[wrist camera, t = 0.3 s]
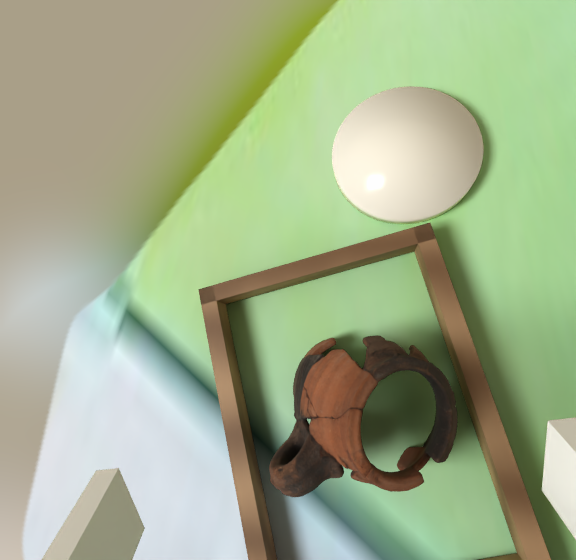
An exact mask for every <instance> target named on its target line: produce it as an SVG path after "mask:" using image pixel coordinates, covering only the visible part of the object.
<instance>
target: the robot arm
mask: <svg viewBox="0 0 576 560" xmlns="http://www.w3.org/2000/svg"><path fill="white" fill-rule="evenodd" d="M542 491H543V493H544V494H545V496H546V497H547V499H548V500H549V501H550V503H551V504H552V506H553V507H554V509H555V510H556V512H557V513H558V515H559V516H560V517H561V519H562V520H563V522H564V523H565V525H566V526H567V528H568V529H569V531H570V532H571V533H572V535H573V536H574V538H575V539H576V418H567V419H558V420H549V421H548V424H547V436H546V448H545V459H544V471H543V482H542ZM143 531H144V526H143V523H142V521H141V519H140V516H139V514H138V512H137V510H136V507H135V505H134V503H133V500H132V498H131V496H130V493H129V491H128V489H127V486H126V484H125V482H124V480H123V477H122V475H121V473H120V470H119V468H116V469H107V470H98V471H96V472H95V473H94V475H93V477H92V478H91V480H90V481H89V483H88V485H87V486H86V488H85V490H84V491H83V493H82V494H81V496H80V498H79V499H78V501H77V503H76V504H75V506H74V508H73V509H72V511H71V512H70V514H69V516H68V517H67V519H66V521H65V522H64V524H63V526H62V527H61V529H60V530H59V532H58V534H57V535H56V537H55V539H54V540H53V542H52V543H51V545H50V547H49V548H48V550H47V552H46V553H45V555H44V557H43V558H42V560H132V559H133V556H134V554H135V551H136V549H137V546H138V544H139V541H140V538H141V536H142V533H143Z"/></svg>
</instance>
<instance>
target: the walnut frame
mask: <svg viewBox="0 0 576 560" xmlns="http://www.w3.org/2000/svg"><path fill="white" fill-rule="evenodd" d="M410 252H415V254H416V257H417V260H418V263H419V266H420V269H421V272H422V275H423V278H424V281H425V284H426V287H427V290H428V293H429V296H430V299H431V301H432V304H433V307H434V310H435V313H436V316H437V319H438V322H439V325H440V328H441V331H442V334H443V337H444V340H445V343H446V346H447V349H448V351H449V354H450V357H451V360H452V363H453V366H454V369H455V372H456V375H457V378H458V381H459V384H460V387H461V390H462V393H463V396H464V398H465V401H466V404H467V407H468V410H469V413H470V416H471V419H472V422H473V425H474V428H475V431H476V434H477V437H478V440H479V443H480V446H481V448H482V451H483V454H484V457H485V460H486V463H487V466H488V469H489V472H490V475H491V478H492V481H493V484H494V487H495V490H496V493H497V496H498V498H499V501H500V504H501V507H502V510H503V513H504V516H505V519H506V522H507V525H508V528H509V531H510V534H511V537H512V540H513V543H514V545H515V548H516V551H517V553H515V554H509V555H503V556H497V557H491V558H485V559H479V560H551V558H550V556H549V553H548V550H547V547H546V545H545V542H544V539H543V536H542V533H541V531H540V528H539V525H538V522H537V519H536V517H535V514H534V511H533V508H532V505H531V503H530V500H529V497H528V494H527V491H526V489H525V486H524V483H523V480H522V478H521V475H520V472H519V469H518V466H517V464H516V461H515V458H514V455H513V452H512V450H511V447H510V444H509V441H508V438H507V436H506V433H505V430H504V427H503V425H502V422H501V419H500V416H499V413H498V411H497V408H496V405H495V402H494V399H493V397H492V394H491V391H490V388H489V385H488V383H487V380H486V377H485V374H484V371H483V369H482V366H481V363H480V360H479V358H478V355H477V352H476V349H475V346H474V344H473V341H472V338H471V335H470V332H469V330H468V327H467V324H466V321H465V318H464V316H463V313H462V310H461V307H460V304H459V302H458V299H457V296H456V293H455V291H454V288H453V285H452V282H451V279H450V277H449V274H448V271H447V268H446V265H445V263H444V260H443V257H442V254H441V251H440V249H439V246H438V243H437V240H436V237H435V235H434V232H433V229H432V226H431V224H430V223H427V224H424V225H420V226H417V227H413V228H410V229H406V230H403V231H399V232H396V233H393V234H389V235H386V236H382V237H379V238H375V239H372V240H368V241H365V242H361V243H358V244H354V245H351V246H348V247H344V248H341V249H337V250H334V251H330V252H327V253H323V254H320V255H316V256H313V257H309V258H306V259H303V260H299V261H296V262H292V263H289V264H285V265H282V266H278V267H275V268H271V269H268V270H264V271H261V272H258V273H254V274H251V275H247V276H244V277H240V278H237V279H233V280H230V281H226V282H223V283H219V284H216V285H213V286H209V287H206V288H202V289H199V295H200V300H201V305H202V311H203V316H204V322H205V327H206V332H207V338H208V343H209V349H210V354H211V359H212V365H213V370H214V376H215V381H216V386H217V392H218V397H219V403H220V408H221V413H222V419H223V424H224V430H225V435H226V440H227V446H228V451H229V457H230V462H231V467H232V473H233V478H234V484H235V489H236V494H237V500H238V505H239V511H240V516H241V521H242V527H243V532H244V538H245V543H246V548H247V554H248V559H249V560H277V556H276V551H275V546H274V541H273V536H272V531H271V526H270V521H269V516H268V511H267V506H266V502H265V497H264V492H263V487H262V482H261V477H260V472H259V467H258V462H257V457H256V452H255V447H254V442H253V437H252V432H251V427H250V422H249V417H248V412H247V407H246V402H245V397H244V392H243V387H242V382H241V378H240V373H239V368H238V363H237V358H236V353H235V348H234V343H233V338H232V333H231V328H230V323H229V318H228V313H227V308H226V304H228V303H232V302H236V301H239V300H243V299H246V298H250V297H253V296H257V295H260V294H264V293H268V292H271V291H275V290H278V289H282V288H285V287H289V286H293V285H296V284H300V283H303V282H307V281H310V280H314V279H318V278H321V277H325V276H328V275H332V274H335V273H339V272H343V271H346V270H350V269H353V268H357V267H360V266H364V265H367V264H371V263H375V262H378V261H382V260H385V259H389V258H392V257H396V256H400V255H403V254H407V253H410Z"/></svg>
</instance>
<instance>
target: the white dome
mask: <svg viewBox="0 0 576 560" xmlns="http://www.w3.org/2000/svg"><path fill="white" fill-rule="evenodd" d="M482 160H483V140H482V135H481V132H480V129H479V126H478V124H477V122H476V120H475V119H474V117H473V116H472V115H471V113H470V112H469V111H468V110H467V109H466V108H465V107H464V106H463V105H462V104H461V103H460V102H458V101H457V100H456V99H454V98H452V97H451V96H449V95H447V94H445V93H442V92H440V91H437V90H433V89H430V88H424V87H399V88H393V89H389V90H386V91H383V92H380V93H378V94H375V95H373V96H371V97H370V98H368V99H366V100H365V101H363V102H362V103H360V104H359V105H358V106H357V107H355V108H354V109H353V110H352V111H351V112H350V113H349V114H348V116H347V117H346V118H345V120H344V121H343V122H342V124H341V126H340V128H339V130H338V131H337V134H336V137H335V140H334V144H333V150H332V163H333V171H334V175H335V179H336V182H337V185H338V187H339V189H340V191H341V192H342V194H343V196H344V197H345V198H346V199H347V201H348V202H349V203H350V204H351V205H352V206H353V207H354V208H356V209H357V210H358V211H360V212H361V213H363V214H365V215H367V216H368V217H371V218H373V219H376V220H378V221H382V222H386V223H392V224H414V223H420V222H424V221H428V220H430V219H433V218H436V217H438V216H440V215H442V214H444V213H445V212H447V211H448V210H450V209H451V208H453V207H454V206H455V205H456V204H457V203H459V202H460V201H461V200H462V198H463V197H464V196H465V195H466V194H467V192H468V191H469V189H470V188H471V186H472V185H473V183H474V182H475V180H476V178H477V176H478V174H479V171H480V168H481V165H482Z"/></svg>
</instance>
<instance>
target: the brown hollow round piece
mask: <svg viewBox="0 0 576 560" xmlns="http://www.w3.org/2000/svg"><path fill="white" fill-rule="evenodd" d="M363 343H364V344H365V346H366V347H367V350H366V360H365V363H364V368H363V369H362V368H361V367H360V366H359V365H358V364H357V362H355V361H354V360H353V359H352V358H351V357H350V355H348V353H347V352H346V351H345V350H344V349H341V350H340V349H336V350H332V351H330V352H329V353H328V354H327V355H326V356H324V355H321V354H322V353H323V352H325V351H326V350H328V349H329V348H331V347H332V346H334V345H336V340H335V339H334V338H329V339H327V340H324V341H322V342H320V343H318V344H317V345H315V346H314V347H313V348H312V349H311V350H310V351H309V352H308V353H307V354H306V355H305V357H304V358H303V359H302V360H301V362H300V364H299V366H298V369H297V371H296V374H295V379H294V385H293V394H294V411H295V413H294V416H295V418H296V424H295V426H294V429H293V431H292V433H291V435H290V437H289V438H288V440H287V441H285V442H284V443H283V445H282V446H281V447H280V448H279V449H278V450H277V452H276V453H275V455H274V456H273V458H272V460H271V462H270V466H269V470H270V476H271V478H270V481H271V483H272V484H273V485H274V486H275V488H277V489H278V490H280V491H281V492H282V493H283V494H284V495H287V496H291V497H300V496H304V495H306V494H308V493H309V492H311V491H313V490H314V489H315V488H317V487H318V486H319V485H320V484H321V483H322V482H323V481H325V480H327V479H329V478H340V477H342V476H343V474H344V470H343V467H342V466H344V467H345V468H347V469H348V468H349V469H351V470H353V471H352V472H351V478H353V479H355V480H357V481H361V482H364V483H370V484H373V485H375V486H377V487H379V488H382V489H384V490H388V491H408V490H410V489H413V488H415V487H417V486H419V485H421V484H422V483H423V482H424V480H423V477H422V474H421V473H420V472H419V470H421V469H422V468H423V467H424V466H425V464H426V463H427V462H428V461H429V459H430V458H432V459H433V460H434V461H435V462H437V463H441V462H445V461H446V459H447V458H448V456H449V453H450V452H451V449H452V447H453V442H454V439H455V436H456V430H457V423H458V420H457V409H456V407H455V405H456V401H455V397H454V393H453V391H452V389H451V386H450V384H449V381H448V380H447V378H446V377H445V375H444V374H443V373H442V372H441V371H440V370H439V369H438V368H437V367H435V366H434V365H433V364H432V363H430V362H429V361H428V360H427V359H426V357H425V356H424V355H423V354H422V353H421V352H420V351H419V350H418V349H417V348H416V347H415V346H414V345H411V346H410V348H409V350H410V354H409V355H408V354H407V353H406V352H405V350H404V349H403V348H402V347H400V346H399V345H398V344H396V343H394V342H391V341H387V340H385V339H384V338H383V337H381V336H368V337H365V338H364V339H363ZM404 370H411V371H416V372H418V373H420V374H421V375H423V376H424V377H425V378H426V379H427V380H428V382H429V383H430V385H431V387H432V388H433V391H434V394H435V400H436V417H435V423H434V426H433V429H432V431H431V433H430V435H429V437H428V439H427V440H426V442H425V443H424V445H423V447H409V448H407V449H406V450H405V451H404V453H403V454H402V455H401V457H400V459H399V461H398V463H397V467H398V469H399V470H400V471H398V472H384V471H381V470H379V469H377V468H376V467H375V466H374V465H373V464H371V463H370V461H369V460H368V458H367V457H366V455H365V452H364V449H363V446H362V441H361V418H362V413H363V408H364V407H365V404H366V402H367V399H368V398H369V396H370V394H371V393H372V391H373V390H374V389H375V387H376V386H377V384H378V382H379V381H381V380H382V379H384V378H386V377H387V376H389V375H390V374H392V373H395V372H398V371H404ZM307 418H308V419H311V422H310V425H309V423H308V421H307Z"/></svg>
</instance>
